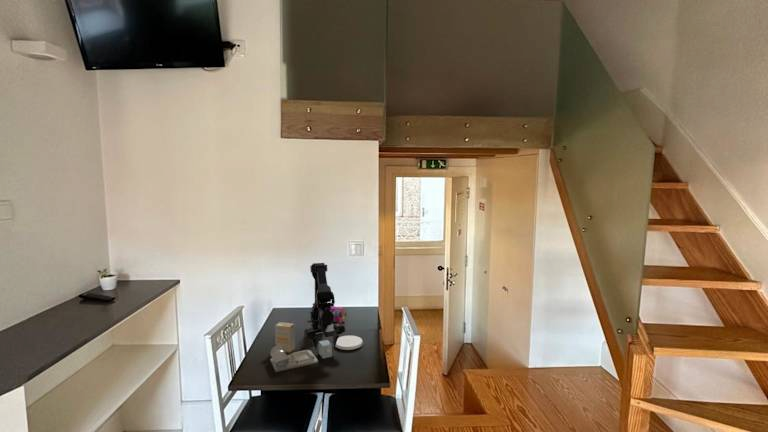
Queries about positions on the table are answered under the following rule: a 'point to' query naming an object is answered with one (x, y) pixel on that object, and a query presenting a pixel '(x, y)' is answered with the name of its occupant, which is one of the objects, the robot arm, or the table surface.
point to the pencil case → (338, 314)
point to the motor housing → (290, 359)
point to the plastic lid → (348, 342)
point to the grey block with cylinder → (325, 349)
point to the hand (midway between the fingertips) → (325, 348)
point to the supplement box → (285, 336)
